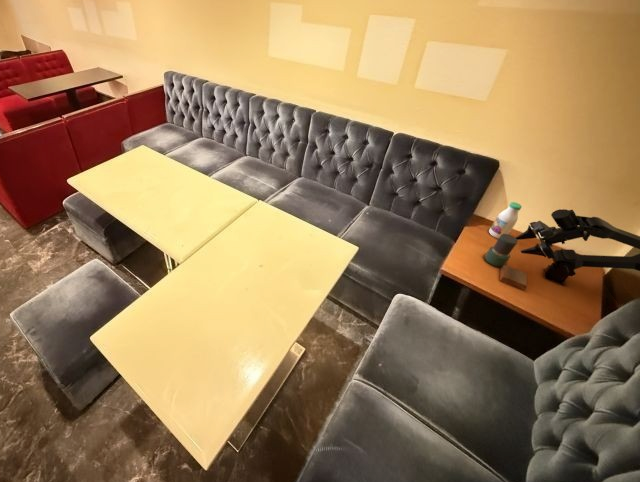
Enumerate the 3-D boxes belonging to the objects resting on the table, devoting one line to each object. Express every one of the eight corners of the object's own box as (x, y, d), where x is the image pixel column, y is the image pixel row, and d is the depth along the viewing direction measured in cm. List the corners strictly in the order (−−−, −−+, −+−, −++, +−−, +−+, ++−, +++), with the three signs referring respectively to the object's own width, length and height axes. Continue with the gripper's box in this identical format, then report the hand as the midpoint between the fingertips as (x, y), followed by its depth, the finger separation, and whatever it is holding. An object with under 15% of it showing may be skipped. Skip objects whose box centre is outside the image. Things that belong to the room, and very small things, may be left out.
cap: (512, 252, 145) (520, 240, 140) (504, 256, 142) (512, 245, 138) (498, 243, 149) (505, 232, 145) (490, 247, 147) (497, 236, 143)
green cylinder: (504, 259, 151) (512, 248, 146) (504, 270, 145) (512, 259, 141) (484, 252, 155) (491, 241, 150) (483, 262, 149) (490, 251, 145)
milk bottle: (502, 230, 168) (521, 201, 156) (508, 240, 161) (529, 210, 150) (486, 228, 169) (504, 198, 158) (491, 237, 163) (510, 207, 152)
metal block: (523, 277, 142) (526, 273, 140) (523, 290, 136) (527, 285, 135) (500, 268, 146) (503, 264, 144) (499, 280, 140) (503, 276, 139)
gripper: (546, 207, 137) (504, 220, 147) (562, 234, 123) (514, 246, 133) (558, 225, 139) (516, 237, 149) (575, 254, 125) (527, 264, 135)
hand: (518, 245), depth 141 cm, fingers open, 9 cm apart
